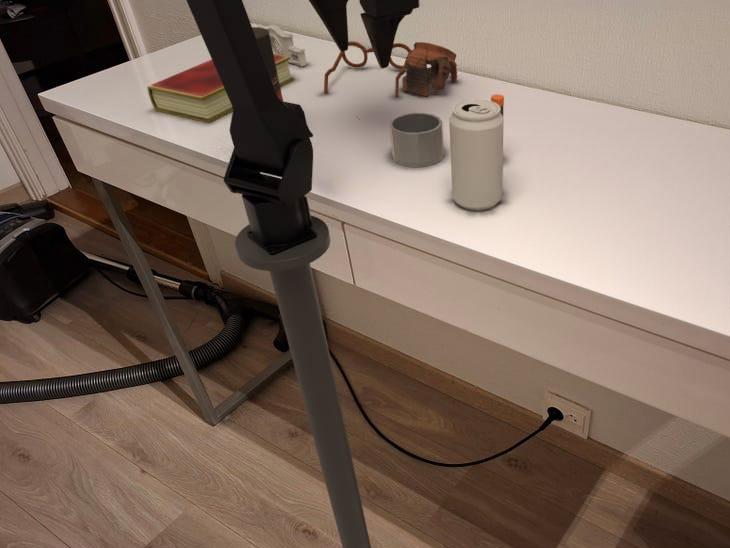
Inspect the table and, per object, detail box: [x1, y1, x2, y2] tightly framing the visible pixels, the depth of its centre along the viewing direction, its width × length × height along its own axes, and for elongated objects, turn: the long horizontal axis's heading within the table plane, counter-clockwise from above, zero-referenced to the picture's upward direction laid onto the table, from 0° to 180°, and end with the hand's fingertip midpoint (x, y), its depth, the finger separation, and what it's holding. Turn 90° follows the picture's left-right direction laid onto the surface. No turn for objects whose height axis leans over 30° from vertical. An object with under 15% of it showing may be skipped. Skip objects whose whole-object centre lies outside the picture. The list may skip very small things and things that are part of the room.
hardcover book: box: [147, 54, 295, 124], centre depth 113 cm, size 12×21×4 cm, turn 153°
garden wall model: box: [257, 24, 307, 67], centre depth 125 cm, size 12×2×6 cm, turn 50°
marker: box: [490, 93, 505, 117], centre depth 91 cm, size 2×2×9 cm
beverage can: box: [448, 98, 505, 211], centre depth 82 cm, size 6×6×12 cm
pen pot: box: [388, 112, 445, 168], centre depth 94 cm, size 7×7×5 cm
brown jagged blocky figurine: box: [401, 41, 458, 97], centre depth 114 cm, size 12×10×8 cm
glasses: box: [323, 40, 412, 98], centre depth 116 cm, size 13×13×5 cm
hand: (363, 58), depth 88 cm, fingers open, 9 cm apart
